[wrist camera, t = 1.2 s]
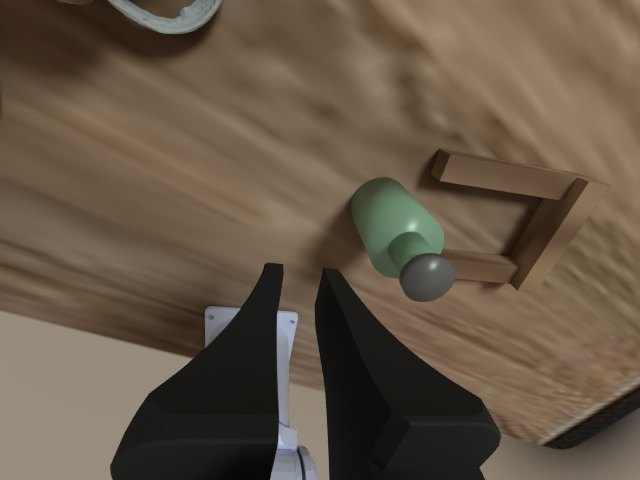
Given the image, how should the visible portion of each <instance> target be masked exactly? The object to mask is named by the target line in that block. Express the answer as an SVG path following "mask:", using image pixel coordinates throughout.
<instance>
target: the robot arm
mask: <svg viewBox="0 0 640 480" xmlns="http://www.w3.org/2000/svg"><path fill="white" fill-rule="evenodd" d="M283 275H284V273H283V264H276V263H266V264H265V265H264V269H263V272H262V274H261V276H260V278H259V280H258V282H257V284H256V286H255V287H254V289H253V291H252V292H251V294H250V296H249V297H248V299H247V300H246V302H245V303H244V304H243V306H242V307H241V308H232V307H217V306H209V307H207V308H206V310H205V349H204V350H203V351H201V352H200V353H199V354H198V355H197V356H196V357H195V358H194V359H192V360H191V361H190V362H189V363H188V364H187V365H186V366H184V367H183V368H182V369H181V370H180V371H178V372H177V373H176V374H175V375H173V376H172V377H171V378H169V379H168V380H167V381H165V382H164V383H163V384H161V385H160V386H159V387H157V388H156V389H155V390H153V391H152V392H151V393H149V395H148V396H147V398H146V399H145V400H144V402H143V403H142V405H141V406H140V408H139V409H138V411H137V412H136V414H135V416H134V417H133V419H132V421H131V423H130V424H129V426H128V428H127V430H126V431H125V433H124V435H123V438H122V440H121V442H120V444H119V447H118V449H117V451H116V454H115V456H114V458H113V461H112V463H111V465H110V470H111V476H112V479H113V480H319V478H318V472H317V468H316V465H315V462H314V460H313V459H312V457H311V456H310V453H309V451H308V450H307V448H306V447H304V446H297V430H296V429H295V428H289V360H290V355H291V350H292V345H293V340H294V335H295V330H296V325H297V320H298V314H297V313H296V312H292V311H278V307H279V301H280V294H281V288H282V281H283ZM210 315H211V316H210ZM291 320H293V321H291ZM315 327H316V334H317V340H318V347H319V353H320V359H321V365H322V371H323V377H324V385H325V394H326V410H327V429H328V449H329V476H330V477H329V478H330V480H485V478H484V477H483V474H482V472H481V470H480V468H479V467H480V466H481V465H482V464H483V463H484V462H485V461H486V460H487V459H488V458H489V457H490V456H491V455H492V453H493V452H494V451H495V450H496V449H497V447H498V446H499V442H500V439H501V434H500V431H499V429H498V427H497V425H496V424H495V422H494V420H493V418H492V417H491V415H490V413H489V412H488V410H487V408H486V406H485V405H484V403H483V402H482V400H481V398H479V397H477V396H476V395H474V394H472V393H471V392H469V391H468V390H466V389H464V388H463V387H461V386H459V385H458V384H456V383H455V382H453V381H451V380H450V379H448V378H447V377H445V376H444V375H442V374H441V373H440V372H438V371H437V370H435V369H434V368H432V367H431V366H430V365H428V364H427V363H426V362H424V361H423V360H422V359H420V358H419V357H418V356H417V355H415V354H414V353H413V352H412V351H411V350H409V349H408V348H407V347H406V346H404V345H403V344H402V343H401V342H400V341H399V340H398V339H397V338H396V337H395V336H393V335H392V334H391V333H390V332H389V331H388V330H387V329H386V328H385V327H384V326H383V325H382V324H381V323H380V322H379V321H378V320H377V318H376V317H375V316H374V315H373V314H372V313H371V312H370V311H369V309H368V308H367V307H366V306H365V305H364V303H363V302H362V301H361V300H360V298H359V297H358V296H357V295H356V293H355V292H354V291H353V289H352V288H351V286H350V285H349V284H348V282H347V281H346V280H345V278H344V277H343V275H342V274H341V273H340V271H339V270H338V269H328V268H323V273H322V277H321V281H320V285H319V290H318V294H317V298H316V302H315Z"/></svg>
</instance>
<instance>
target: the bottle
mask: <svg viewBox="0 0 640 480" xmlns="http://www.w3.org/2000/svg"><path fill="white" fill-rule="evenodd" d="M350 211H351V216H352V218H353V221H354V223H355V225H356V228H357V230H358V232H359V235H360V237H361V239H362V241H363V244H364V246H365V248H366V251H367V253H368V255H369V258H370V260H371V262H372V264H373V266H374V268H375V269H376V270H377V271H378V272H380V273H381V274H383V275H385V276H387V277H391V278H399V282H400V285H401V287H402V289H403V291H404V292H405V294H406V295H407V297H409V298H410V299H412V300H414V301H418V302H427V301H431V300H434V299H437V298H439V297H441V296H442V295H444V294H445V293H446V292H447V291H448V290H449V289H450V288H451V287H452V285H453V283H454V281H455V270H454V268H453V266H452V265H451V264H450V263H449V262H448V260H447V259H446V258H445V257H444V256H442V255H440V254H441V252H442V249H443V246H444V233H443V230H442V228H441V226H440V224H439V223H438V222H437V221H436V220H435V219H434V218H433V217H432V216H431V215H430V214H429V213H428V212H427V211H426V210H425V209H424V208H423V207H422V206H421V205H420V204H419V203H418V202H417V200H416V199H415V198H414V197H413V196H412V195H411V194H410V193H409V192H408V191H407V190H406V189H405V188H404V187H403V186H402V185H401V184H400V183H399V182H397V181H395V180H393V179H390V178H376V179H373V180H370V181H368V182H366V183H365V184H363V185H362V186H361V187H360V188H359V189H358V190H357V191H356V193H355V194H354V196H353V198H352V201H351V205H350Z"/></svg>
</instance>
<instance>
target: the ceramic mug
mask: <svg viewBox="0 0 640 480" xmlns="http://www.w3.org/2000/svg"><path fill="white" fill-rule="evenodd" d="M57 1H60V2H63V3H69V4H81V5H83V4H89V3H92V2H93V1H95V0H57ZM107 1H108V2H109V3H110V4H111V5H113V6H114V7H115V8H116V9H118V10H119V11H120V12H122V13H123V14H124V15H125V16H126V17H128V18H130V19H132V20H134V21H136V22H137V23H139V24H140V25H142V26H144V27H147V28H149V29H152V30H154V31H157V32H160V33H164V34H184V33H189V32H192V31H196V30H197V29H198V28H200V27H202V26H203V25H204V24H205V23H206V22H208V21H209V20H210V19H211V18H212V17H213V15H214V14H215V13H216V12H217V10H218V9H219V7H220V5H221V3H222V1H223V0H196V1H195V2H194V3H193V4H192V5H190V6H189V7H183V8H182V10H181V12H180V16H179V17H177V18H175V19H169V18H164V17H157V16H155V15H152V14H150V13H149V12H148V11H145V10H142V9H141V8H139V7H138V6H136V5H135V4H133V3H132V2H130V1H128V0H107Z"/></svg>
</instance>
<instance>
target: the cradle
mask: <svg viewBox="0 0 640 480" xmlns="http://www.w3.org/2000/svg"><path fill="white" fill-rule="evenodd" d="M430 174H431V175H433V176H434V177H435V178H437V179H438V180H439V181H443V182H449V183H455V184H461V185H468V186H474V187H480V188H487V189H493V190H499V191H505V192H512V193H518V194H524V195H530V196H537V197H543V200H542V201H541V203H540V205H539V206H538V208H537V210H536V211H535V213H534V215H533V216H532V218H531V220H530V222H529V223H528V225H527V227H526V228H525V230H524V232H523V233H522V235H521V237H520V238H519V240H518V242H517V243H516V245H515V247H514V248H513V250H512V252H511V253H510V255H509V256H502V255H494V254H485V253H476V252H468V251H459V250H450V249H442V252H441V254H440V255H442V256H444V257H445V258H446V259H447V260H448V262H449V263H450V264H451V265H452V266H453V268H454V270H455V278H456V279H466V280H477V281H487V282H497V283H508V284H511V285H512V286H513V287H514V288H515V289H516V290H517V291H527V292H536V291H537V290H538V288H539V287H540V285H541V284H542V283H543V281H544V280H545V278H546V277H547V275H548V274H549V273H550V271H551V270H552V268H553V267H554V265H555V264H556V263H557V261H558V260H559V258H560V257H561V255H562V254H563V253H564V251H565V250H566V248H567V247H568V245H569V244H570V243H571V241H572V240H573V238H574V237H575V235H576V234H577V233H578V231H579V230H580V228H581V227H582V225H583V224H584V223H585V221H586V220H587V218H588V217H589V215H590V214H591V213H592V211H593V210H594V208H595V207H596V206H597V204H598V203H599V201H600V200H601V198H602V197H603V196H604V194H605V193H606V191H607V190H608V188H609V187H610V186H611V185H608V184H606V183H603V182H600V181H597V180H595V179H592V178H589V177H587V176H584V175H581V174H577V173H572V172H566V171H561V170H555V169H550V168H544V167H539V166H533V165H528V164H522V163H516V162H511V161H505V160H500V159H494V158H489V157H483V156H478V155H472V154H467V153H461V152H456V151H450V150H445V149H439V151H438V154H437V157H436V159H435V162H434V165H433V167H432V170H431V172H430Z"/></svg>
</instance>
